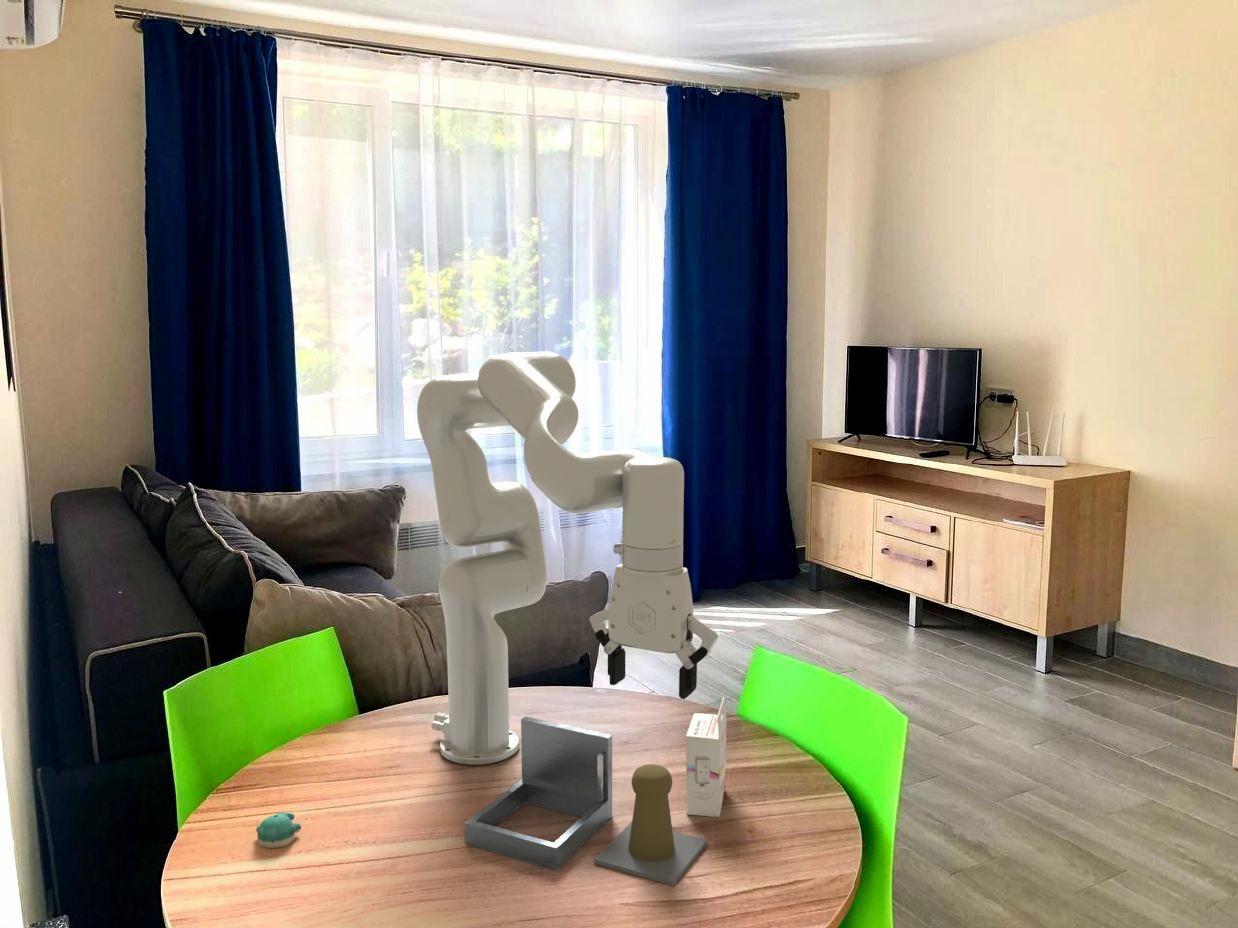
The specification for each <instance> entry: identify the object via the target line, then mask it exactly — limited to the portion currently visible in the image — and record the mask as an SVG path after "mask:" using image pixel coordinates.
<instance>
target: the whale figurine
mask: <svg viewBox="0 0 1238 928" xmlns="http://www.w3.org/2000/svg"><path fill="white" fill-rule="evenodd" d="M294 820H295V813H292V812H279V813H276V814H273V815H270V816H268V817H266V818H265V819H264V820H263V821H262V822H261V823H260V824H259V825H258V826H257V827H256V829H255V831H256V833H257V840H258V843H259V845H260V846H262V847H263V848H268V849H276V848H283V847H287V846H288V845H290V844H291V843H292V842H293V841H294V839H295V838H296V837H295V836H296V834H297V833H298V832H301V830H302V825H301V823H299V822H295V823H294V822H293V821H294Z"/></svg>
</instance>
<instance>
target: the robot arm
mask: <svg viewBox="0 0 1238 928" xmlns="http://www.w3.org/2000/svg"><path fill="white" fill-rule="evenodd" d="M576 384H577V383H576V376H575V372H574V370H573V367H572V365H571V364H570V362H568V360H567V359H566V358H565V357H563V355H561V354H558V353H557V352H556V353H555V352H553V351H534V352H533V351H530V352H529V351H527V352H507V353H501V354H497V355H494V356H492V357H491V358H489V359H488V360H486V361H485V362H484V364H482V366H481V367H480V369H479V371H478V372H470V373H455V374H454V373H453V374H448V375H443V376H438V377H436V378H433V379H431V380H430V381H428V382H427V383H426V384H425V385H424V386H423V387H422V390H420V394H419V397H418V400H417V409H416V410H417V411H416V412H417V413H416V414H417V423H418V428H419V431H420V435H421V438H422V441H423V443H424V445H425V448H426V451H427V454H428V457H429V461H430V463H431V464H430V465H431V469H432V477H433V485H434V491H435V499H436V505H437V512H438V518H439V520H438V521H439V524H440V529H441V533H442V536H443V539H444V540H445V542H446V543H447V544H448V545H449V546H451V547H454V548H458V549H459V548H461V549H462V548H463V549H464V548H465V549H466V548H474V547H481V546H486V545H493V544H496V543H501V545H502V550H498V551H493V552H486V553H485V552H484V553H481V554H479V553H478V554H474V555H470V556H465V557H461V558H458V559H455V560H454V561H452V562H450V563H449V564H447V565H446V566H445V567H444V568H443V570H442V571H441V573H440V575H439V577H438V578H439V579H438V593H439V600H440V602H441V607H442V611H443V617H444V623H445V624H444V625H445V634H446V635H445V637H446V657H447V662H446V663H447V688H448V689H447V690H448V691H447V693H448V694H447V696H448V699H447V701H448V713H444V712H440V711H439V712H436V713H435V714H434V717H433V721H432V723H431V729H432V730H435V731H439V732H440V731H441V732H442V733H443V738H442V739H441V740H440V743H439V752H440V754H441V756H442V757H443V758H445V759H446V760H448V761H451V762H453V763H457V764H459V765H470V766H471V765H472V766H474V765H476V766H477V765H488V764H493V763H497V762H500V761H504V760H506V759H508V758H510V757H511V756H513V755H514V754H516V752H517V751H519V750H518V749H519V748H520V737H518V735H517V734H516V733H515V732H514V731H512V730H510V709H509V708H510V707H509V706H510V704H509V701H510V700H509V699H510V697H509V653H508V652H509V650H508V649H509V648H508V647H509V646H508V639H507V636H506V635H505V632H504V630H503V629H502V628H501V627H500V626H499V624H498V623H497V621H496V620H495V617H494V616H495V615H497V614H500V613H503V612H507V611H510V610H516V609H519V608H524V607H527V606H530V605H533V604H535V603H537V602H539V601H540V600H541V599H542V598H543V596H544V595H545V592H546V588H547V568H546V560H545V552H544V545H543V538H542V537H543V536H542V530H541V523H540V516H539V511H538V507H537V503H536V501H535V499H534V497H533V494H532V493H531V491H530V490H529V489H528V488H527V487H526V486H524V484H521V483H519V482H516V481H499V482H493V483H492V482H491V481H490V478H489V473H488V462H487V458H486V455H485V452H484V451H483V449H482V448H481V446H480V444H479V443H478V442H477V441H476V440H475V438H473V437H472V436H471V434H469V433H468V432H467V431H468V430H470V429H472V430H473V429H484V428H485V429H486V428H495V427H496V428H497V427H505V426H506V427H508V426H509V427H510V426H511V428H512V429H514V430H515V431H516V432H517V433H518V434H519V435H520V436H521V437H522V438H523V439H524V444H523V445H524V446H523V455H524V462H525V466H526V470H527V472H528V475H529V477H530V479H531V482H533V484H534V485H535V486H536V487H537V489H539V490H540V491H541V492H542V493H543V494H544V495H545V497H547V499H549V500H550V501H551V502H552V503H553V504H554V505H555V506H557V507H558V508H560V509H562V510H563V511H566V512H567V513H572V514H578V515H579V514H587V513H592V512H598V511H604V510H609V509H610V510H611V509H619V508H622V541H621V542H620V543H617V542H616V543H614V544H613V545H614V546H613V548H612V549H613V553H614V554H615V555H619V556H620V561H621V562H622V563H620V564H617V565H616V567H615V570H614V575H613V580H612V583H611V584H612V585H611V590H610V598H609V607H608V608H606V609H603V610H601V611H598V612H595V613H594V614H592V615H591V616H589V623H590V625H591V628H592V630H593V631H594V632H595V633H594V635H595V638H596V640H597V641H598V642H599V643H600V645H601V646H602V647H603V651H604V654H606V655H607V675H608V676H609V685H611V686H615V685H617V684H619V683H620V682H622V681H623V680H624V679H625V678H626V650H625V648H624V647H627V648H632V649H638V650H644V651H649V652H655V653H656V652H657V653H662V654H668V655H669V654H670V655H671V654H675V655H676V657H677V658H678V660H679V661H680V662H681V664H682V666H681V667H680V668H679V669H678V671H679V672H678V675H679V676H678V698H679V699H682V700H686V699H687V698H689V696H691V695H692V693H694V691H695V690H696V689H697V684H698V683H697V682H698V681H697V680H698V663H699V662H701V661H702V660H703V659H704V658H705V657H706V656H708V655H710V653H711V652H712V649H713V648H714V645H715V644H716V642H717V641H718V640H719V639H718V638H719V635H718V633H717V632H715V631H714V630H713V629H711V628H710V627H708V626H707V625H705V624H704V623H702V622H701V620H699V619H697V618H695V617H694V604H693V594H692V588H691V587H692V585H691V581H690V576H689V571H688V568H687V567H684V512H685V511H684V507H685V506H684V505H685V503H684V500H685V497H684V495H685V494H684V493H685V492H684V491H685V471H684V467H683V465H682V464H681V462H680V461H679V460H677V459H674V458H672V457H664V456H654V455H651V454H648V453H647V452H644V451H642V450H640V449H637V448H629V447H627V448H617V449H608V450H607V449H605V450H597V451H588V452H581V453H573V452H571V451H569V449H567V448H566V447H565V446H563V445H564V444H565V442H567V441H568V439H570V438H571V436H572V435H573V433H574V431H575V429H576V427H577V426H578V422H579V409H578V406H577V403H576V401H574V399H573V396H574V394H575V391H576ZM606 621H608V627H606V626H607V625H606ZM694 636H697V637H698V638H699V639H701V643H700V646H699V647H698V649H696V647H695V646H694V644H693V642H692V641H693V639H694Z"/></svg>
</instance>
